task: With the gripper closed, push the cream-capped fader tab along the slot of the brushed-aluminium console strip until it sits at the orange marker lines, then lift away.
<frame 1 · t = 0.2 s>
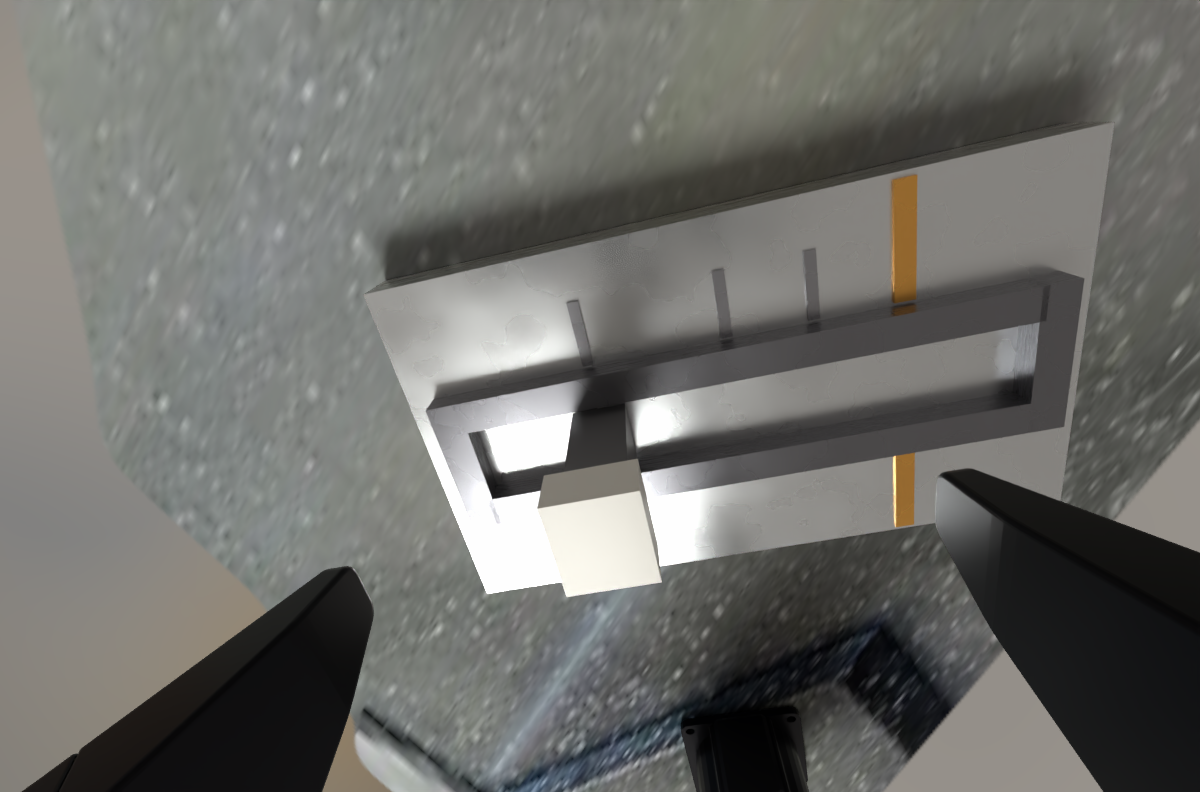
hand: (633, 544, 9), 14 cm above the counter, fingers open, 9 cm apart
fader tab: (603, 481, 18), point 5 cm above the counter, slide at 5.0 cm
console: (726, 384, 23), on the counter
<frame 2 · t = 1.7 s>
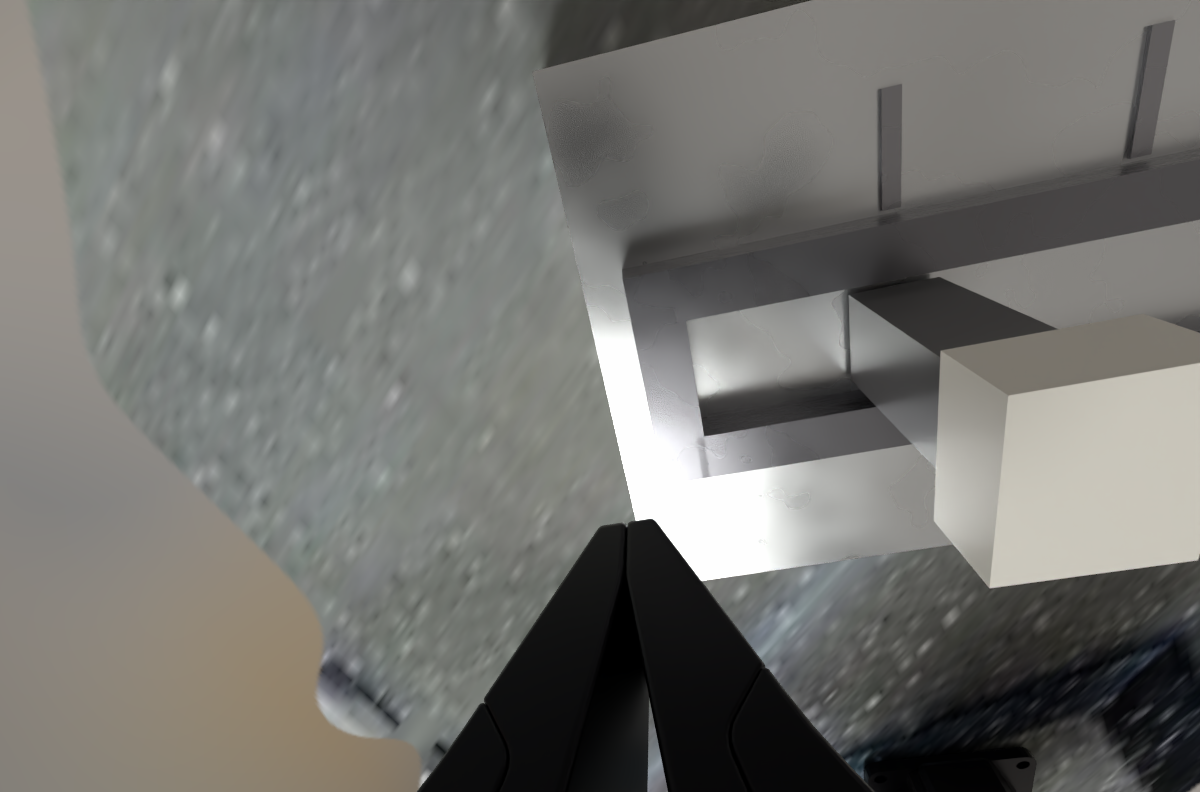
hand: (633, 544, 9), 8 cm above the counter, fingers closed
fader tab: (971, 385, 10), point 5 cm above the counter, slide at 5.0 cm
console: (1053, 267, 15), on the counter
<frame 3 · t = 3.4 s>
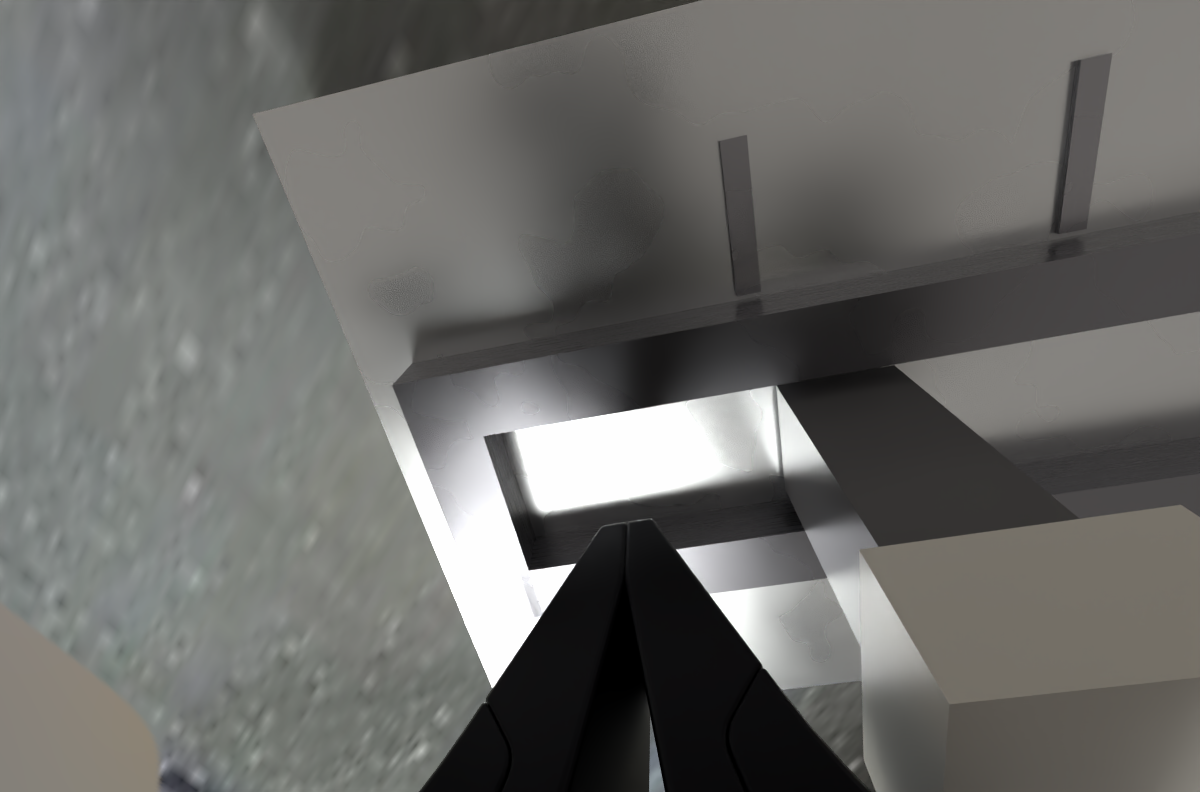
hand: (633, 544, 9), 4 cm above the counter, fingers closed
fader tab: (923, 547, 7), point 5 cm above the counter, slide at 3.7 cm, touching gripper
console: (980, 350, 12), on the counter
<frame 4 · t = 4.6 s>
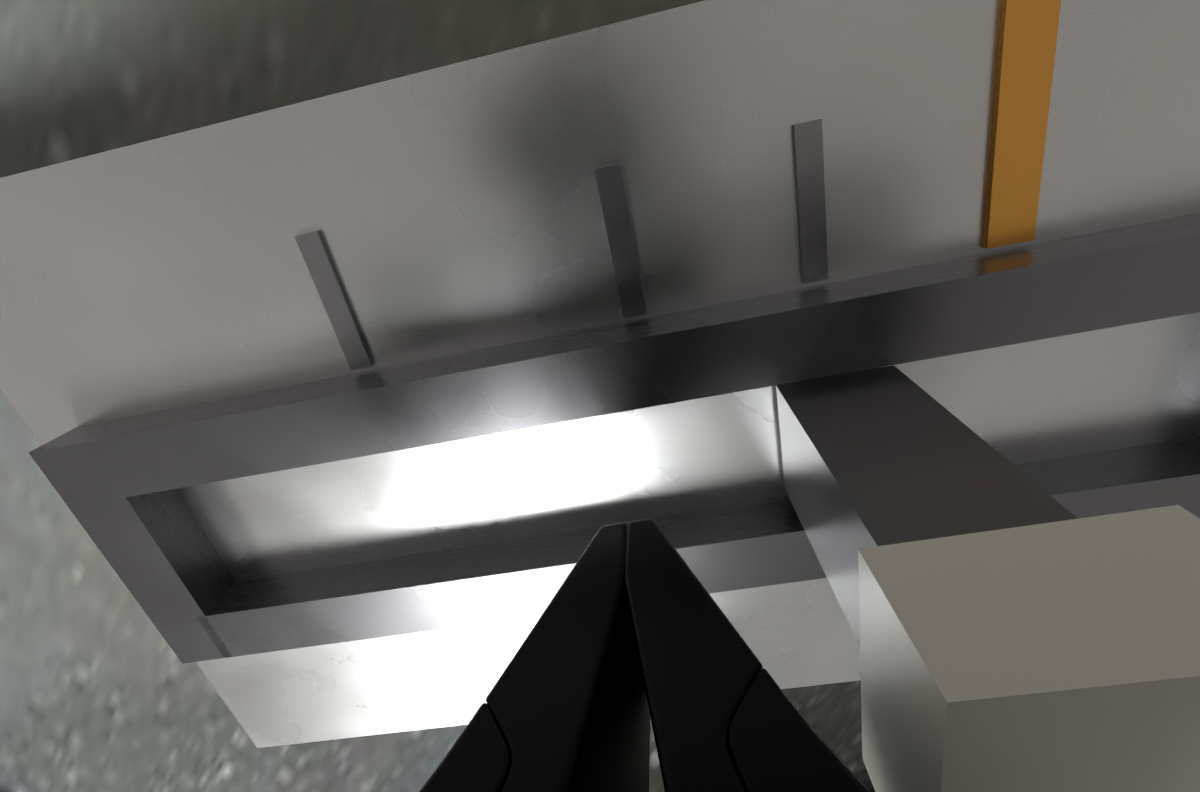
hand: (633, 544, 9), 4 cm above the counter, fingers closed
fader tab: (922, 547, 7), point 5 cm above the counter, slide at -3.2 cm, touching gripper
console: (654, 407, 13), on the counter
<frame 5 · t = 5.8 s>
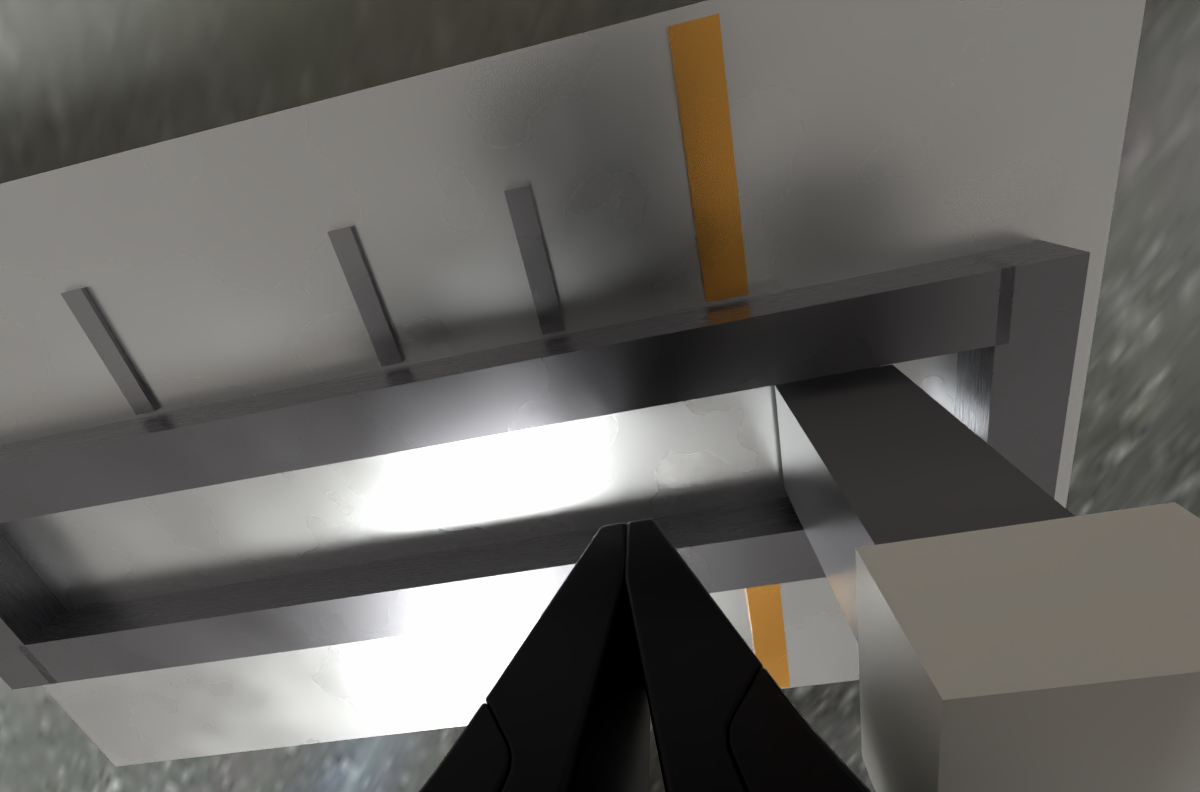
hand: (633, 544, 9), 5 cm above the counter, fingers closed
fader tab: (921, 545, 7), point 5 cm above the counter, slide at -7.6 cm, touching gripper
console: (468, 440, 13), on the counter
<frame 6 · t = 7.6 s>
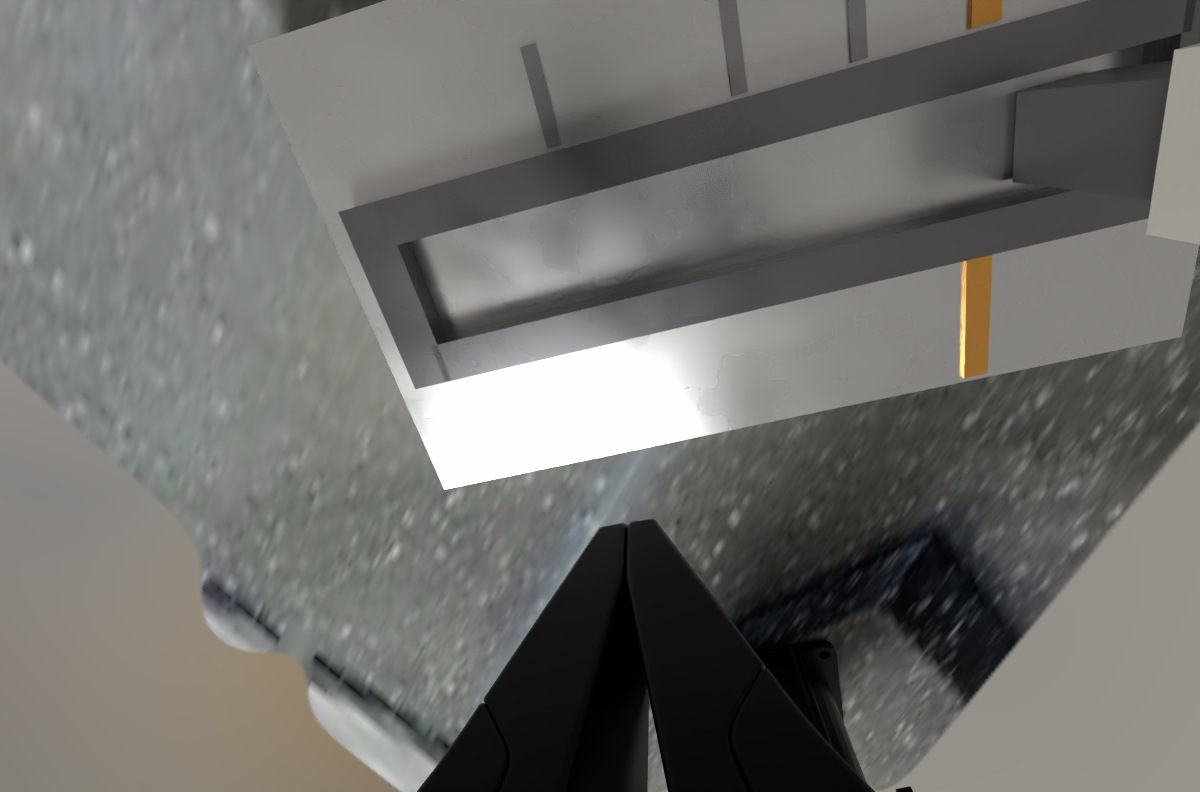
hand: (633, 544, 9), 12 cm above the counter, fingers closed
fader tab: (1165, 127, 12), point 5 cm above the counter, slide at -7.7 cm
console: (739, 196, 17), on the counter
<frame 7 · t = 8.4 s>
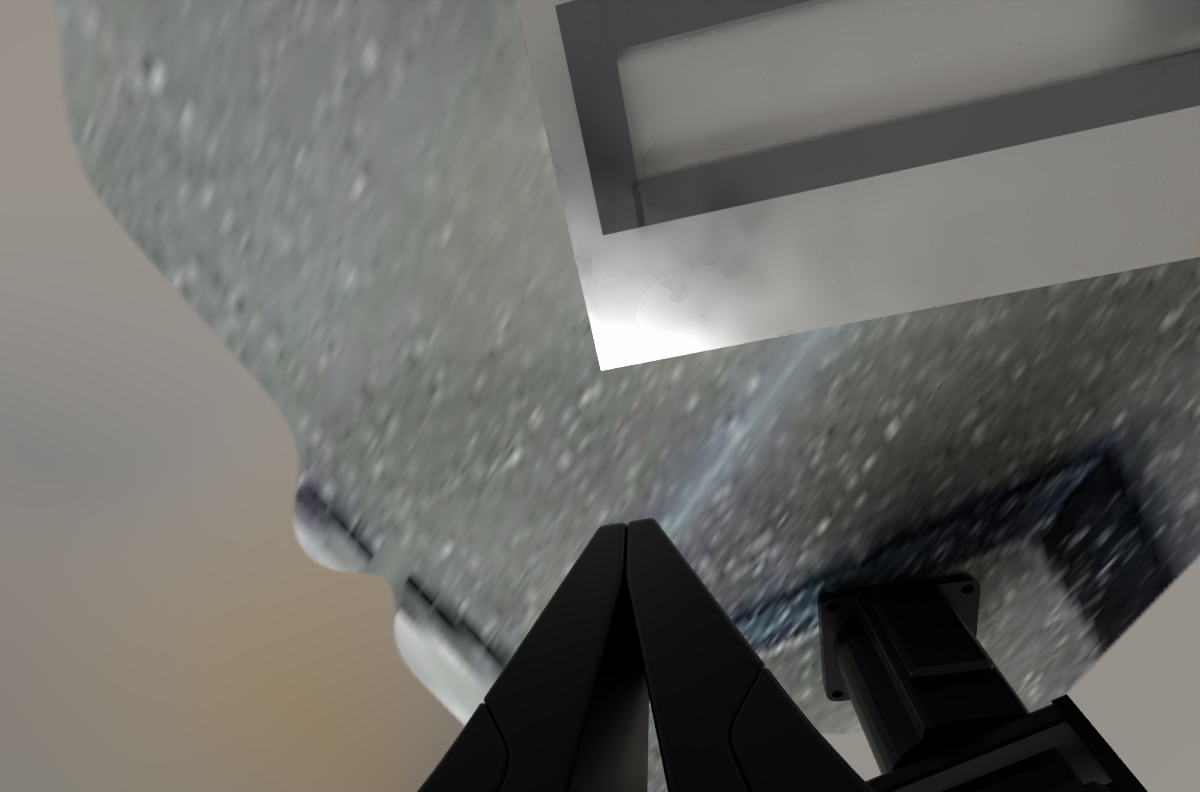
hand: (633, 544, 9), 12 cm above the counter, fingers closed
console: (966, 39, 16), on the counter
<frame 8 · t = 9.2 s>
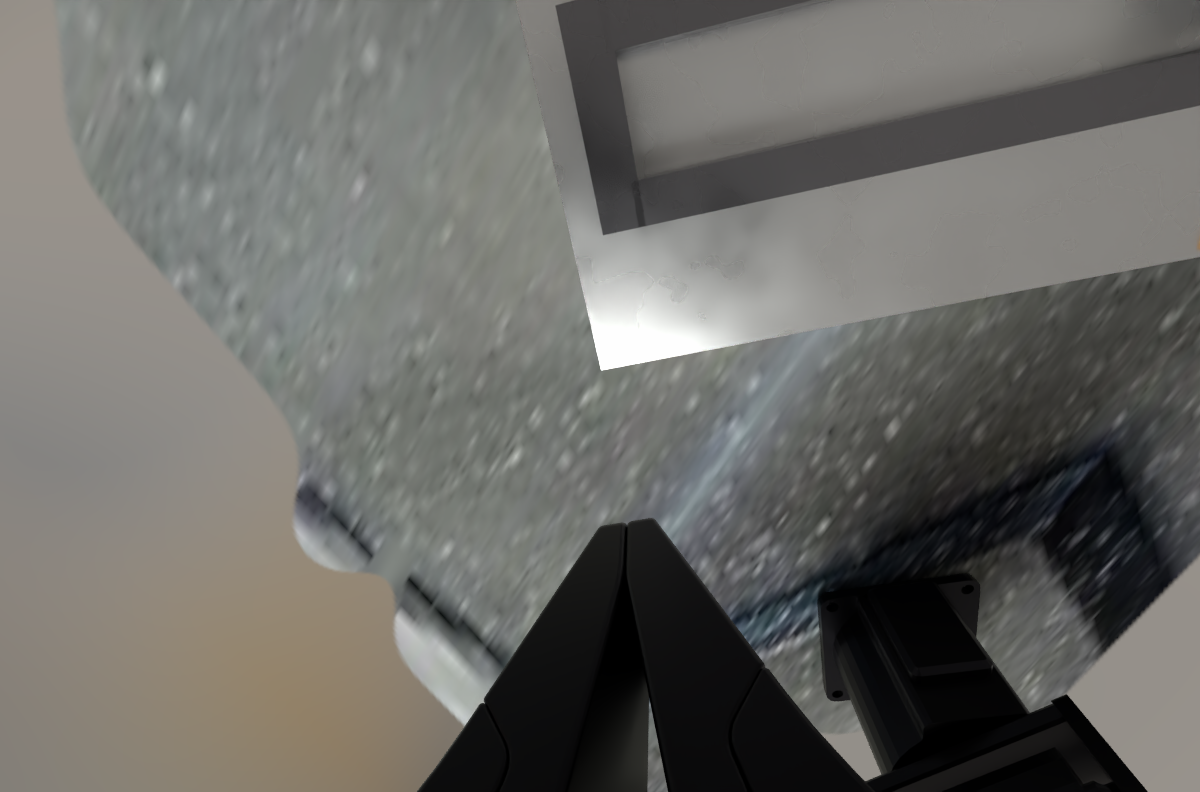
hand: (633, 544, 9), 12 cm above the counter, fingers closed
console: (967, 39, 16), on the counter
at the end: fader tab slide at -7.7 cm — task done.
